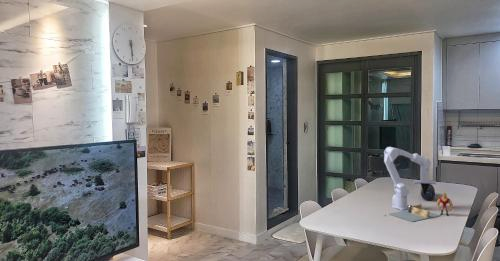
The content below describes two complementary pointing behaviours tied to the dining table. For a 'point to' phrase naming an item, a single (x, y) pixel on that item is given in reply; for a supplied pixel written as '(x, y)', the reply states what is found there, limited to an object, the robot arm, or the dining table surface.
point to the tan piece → (420, 211)
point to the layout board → (412, 216)
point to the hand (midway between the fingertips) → (424, 194)
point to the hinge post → (410, 208)
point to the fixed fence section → (417, 206)
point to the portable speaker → (428, 193)
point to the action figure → (444, 203)
